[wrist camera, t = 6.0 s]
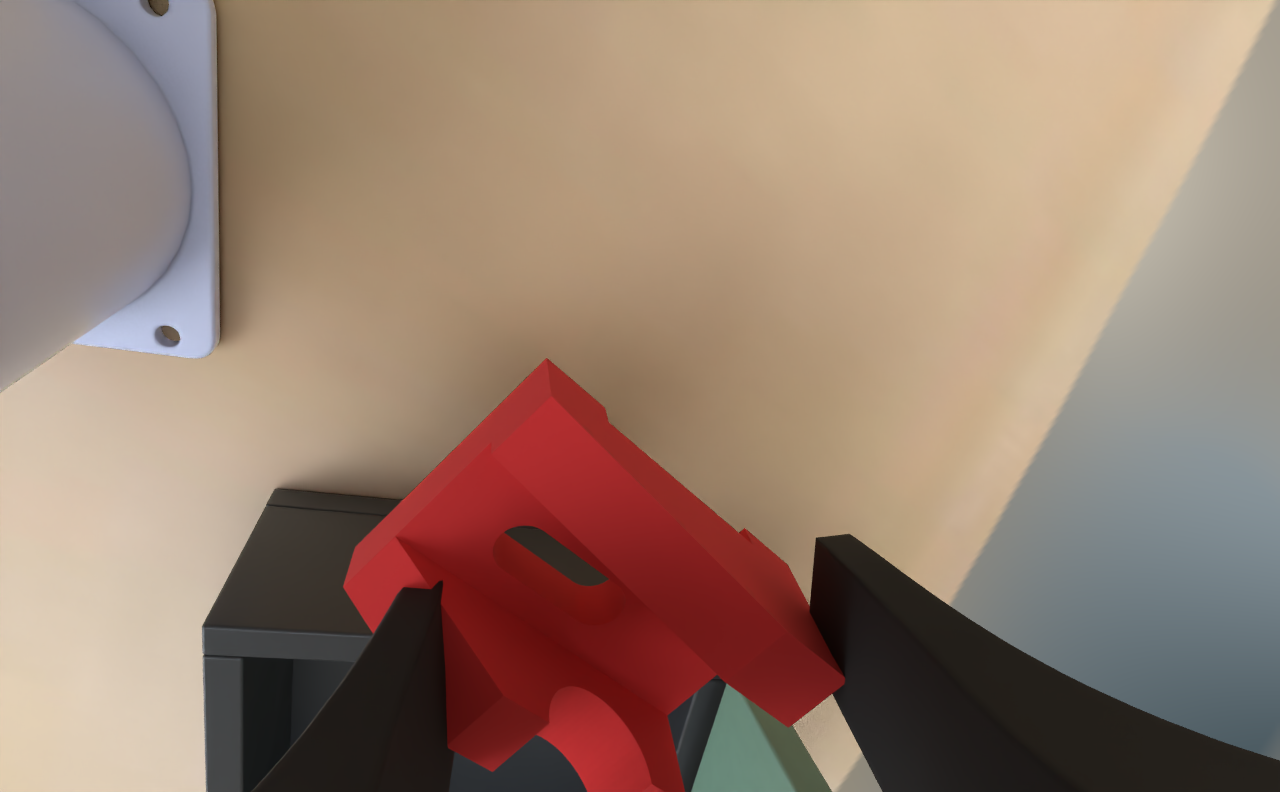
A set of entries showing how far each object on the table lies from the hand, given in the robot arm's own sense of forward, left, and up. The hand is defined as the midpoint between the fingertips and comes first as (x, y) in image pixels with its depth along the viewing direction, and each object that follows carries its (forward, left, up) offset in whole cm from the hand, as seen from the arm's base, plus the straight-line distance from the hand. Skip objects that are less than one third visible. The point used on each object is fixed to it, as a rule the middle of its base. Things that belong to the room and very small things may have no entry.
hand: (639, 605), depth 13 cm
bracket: (-1, 0, -2) cm, 2 cm away
